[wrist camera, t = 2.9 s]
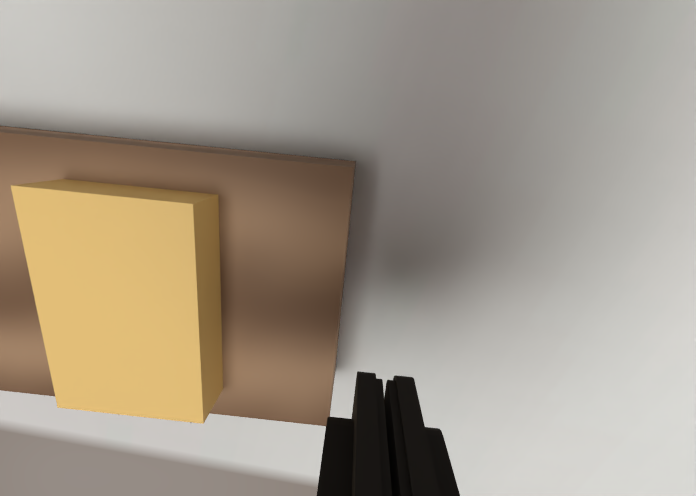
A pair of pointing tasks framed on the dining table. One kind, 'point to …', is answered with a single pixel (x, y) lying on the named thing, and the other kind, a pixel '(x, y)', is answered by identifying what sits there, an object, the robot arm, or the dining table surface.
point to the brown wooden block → (235, 260)
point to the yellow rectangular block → (126, 295)
